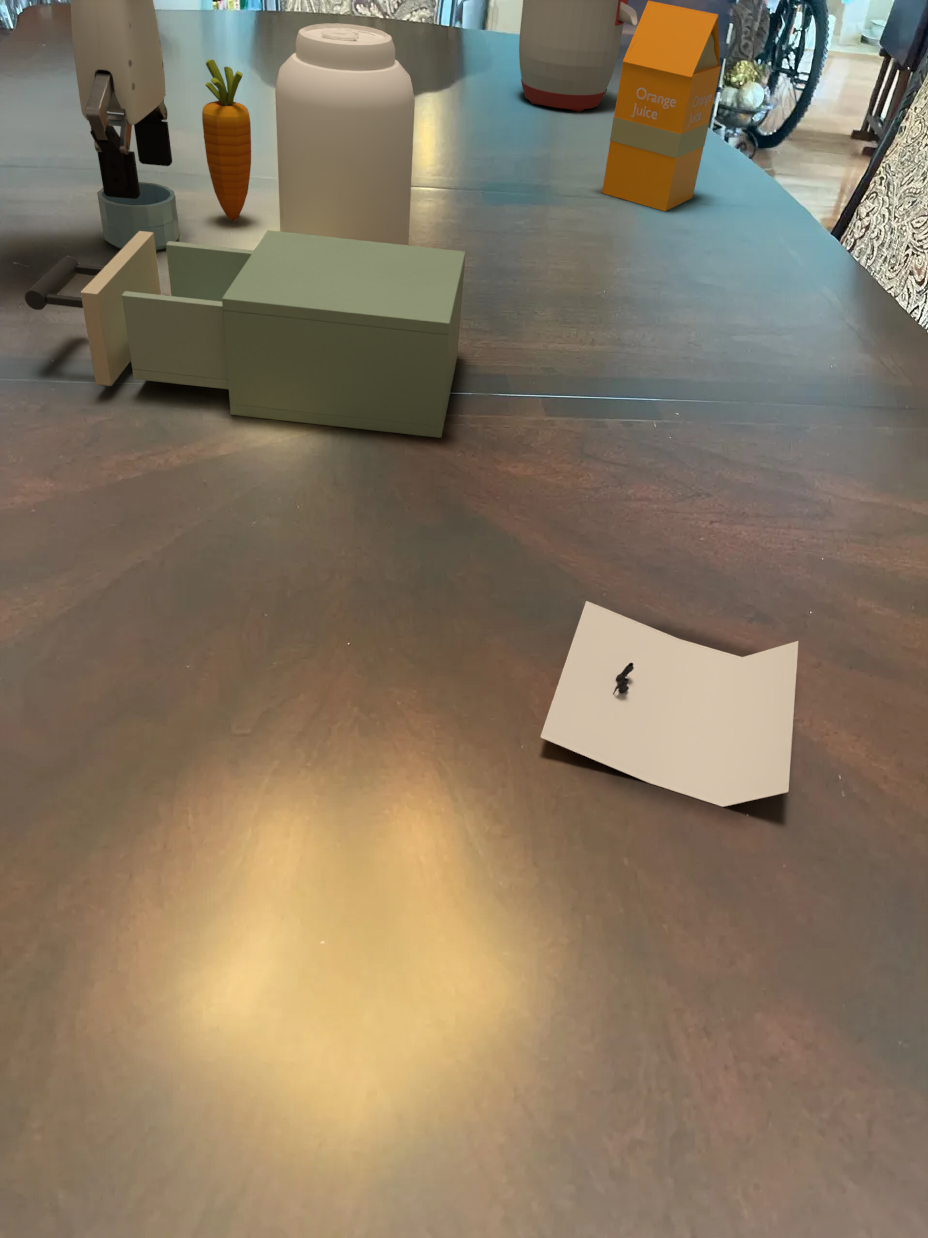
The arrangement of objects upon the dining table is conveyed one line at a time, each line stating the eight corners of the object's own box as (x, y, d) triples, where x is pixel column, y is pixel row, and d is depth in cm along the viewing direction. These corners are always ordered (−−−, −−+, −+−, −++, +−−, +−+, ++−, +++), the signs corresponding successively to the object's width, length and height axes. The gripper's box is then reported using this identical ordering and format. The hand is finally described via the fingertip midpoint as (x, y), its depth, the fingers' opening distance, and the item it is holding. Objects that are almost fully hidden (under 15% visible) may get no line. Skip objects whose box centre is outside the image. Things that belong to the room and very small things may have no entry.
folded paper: (583, 615, 61) (588, 589, 59) (788, 666, 59) (798, 640, 57) (536, 755, 52) (541, 728, 50) (776, 821, 50) (788, 795, 48)
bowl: (93, 249, 98) (86, 201, 95) (118, 224, 103) (112, 178, 100) (166, 257, 97) (161, 209, 95) (188, 232, 103) (183, 186, 100)
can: (376, 293, 95) (382, 53, 82) (257, 266, 98) (245, 29, 85) (426, 251, 104) (439, 29, 91) (316, 227, 107) (313, 9, 94)
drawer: (22, 376, 76) (1, 283, 71) (84, 308, 85) (69, 222, 81) (290, 405, 75) (287, 314, 71) (322, 334, 85) (321, 250, 80)
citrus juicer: (611, 123, 149) (636, -37, 136) (498, 104, 153) (513, -55, 140) (632, 101, 161) (657, -49, 148) (527, 83, 164) (543, -65, 151)
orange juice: (630, 179, 129) (662, -3, 116) (693, 197, 125) (734, 11, 112) (600, 192, 123) (630, 3, 111) (665, 211, 120) (704, 18, 107)
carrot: (265, 225, 106) (257, 66, 96) (220, 232, 104) (208, 69, 94) (244, 210, 109) (235, 54, 99) (201, 216, 107) (187, 56, 97)
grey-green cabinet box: (230, 414, 76) (221, 297, 70) (272, 336, 86) (267, 229, 80) (441, 438, 75) (449, 322, 70) (457, 356, 86) (465, 251, 80)
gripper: (102, -50, 92) (131, 149, 104) (24, -18, 79) (66, 206, 90) (184, -43, 92) (203, 156, 103) (119, -9, 79) (150, 214, 90)
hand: (140, 179), depth 97 cm, fingers open, 9 cm apart
